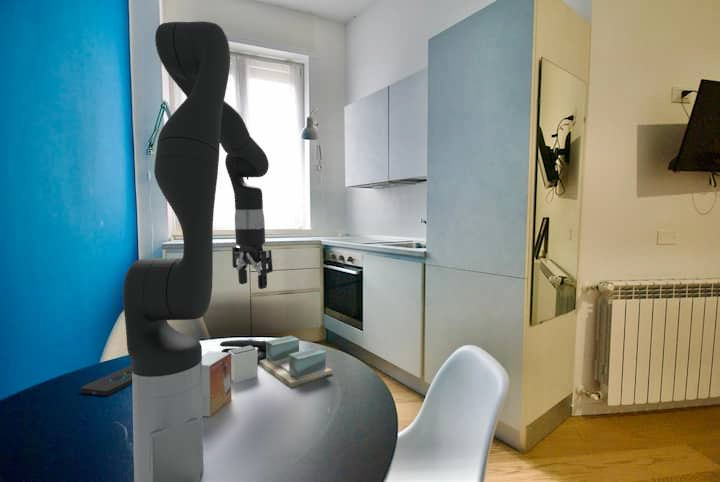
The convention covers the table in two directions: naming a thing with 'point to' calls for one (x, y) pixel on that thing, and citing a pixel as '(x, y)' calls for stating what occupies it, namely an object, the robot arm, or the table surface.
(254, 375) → the block
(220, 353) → the small box
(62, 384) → the table surface
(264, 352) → the can opener
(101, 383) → the smart home device
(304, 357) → the rail board
